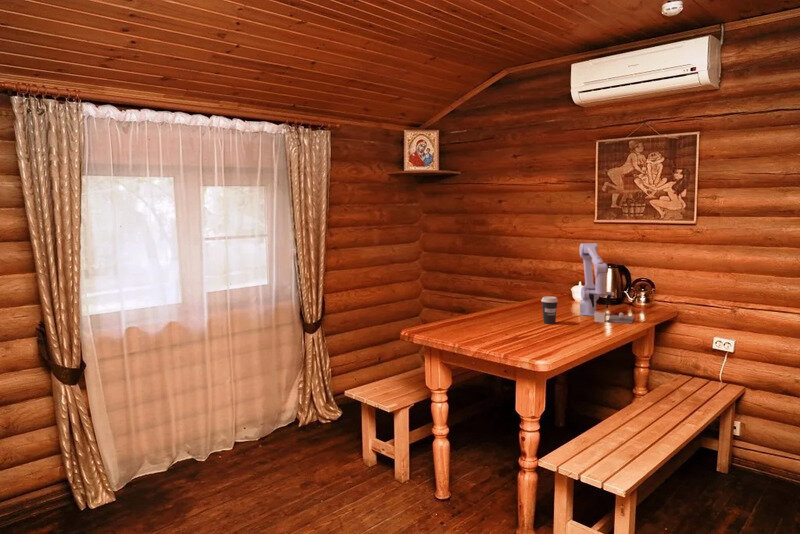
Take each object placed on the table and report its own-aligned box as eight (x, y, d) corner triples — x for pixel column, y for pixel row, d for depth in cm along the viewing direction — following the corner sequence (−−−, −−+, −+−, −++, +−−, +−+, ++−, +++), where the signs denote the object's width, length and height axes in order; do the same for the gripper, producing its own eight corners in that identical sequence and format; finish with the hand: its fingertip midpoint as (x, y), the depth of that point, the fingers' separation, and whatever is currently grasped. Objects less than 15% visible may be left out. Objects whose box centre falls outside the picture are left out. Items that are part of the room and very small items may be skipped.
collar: (594, 321, 333) (594, 313, 332) (595, 319, 338) (595, 311, 337) (604, 322, 330) (604, 313, 330) (605, 320, 335) (605, 312, 335)
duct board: (607, 322, 331) (607, 314, 331) (611, 316, 347) (611, 309, 347) (631, 323, 326) (632, 316, 325) (634, 317, 342) (634, 310, 341)
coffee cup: (539, 324, 330) (539, 298, 328) (543, 320, 339) (543, 295, 337) (555, 325, 326) (556, 299, 324) (559, 322, 334) (559, 296, 332)
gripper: (586, 284, 331) (586, 307, 333) (613, 286, 325) (612, 309, 326) (588, 283, 337) (587, 305, 339) (614, 284, 331) (613, 307, 333)
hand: (600, 307), depth 333 cm, fingers open, 7 cm apart
